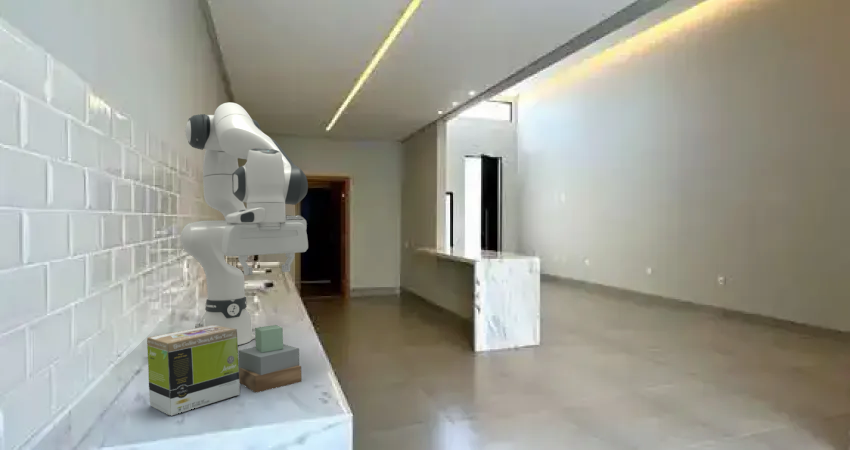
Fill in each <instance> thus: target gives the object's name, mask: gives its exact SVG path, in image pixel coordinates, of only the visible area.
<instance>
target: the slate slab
mask: <svg viewBox="0 0 850 450" xmlns="http://www.w3.org/2000/svg"><path fill="white" fill-rule="evenodd" d="M238 360H239V368H242V369H245V370H248V371H251V372H253V373H256V374H259V375H264V374H267V373H271V372H275V371H279V370H283V369H287V368H291V367H294V366H298V365H299V366H300V348H299V347H295V346H292V345H288V344H284V343H283V349H280V350H274V351H269V352H263V353H262V352H260V351H259V350H257V349H256V346H253V347H248V348H244V349H240V350H239V349H238Z"/></svg>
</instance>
